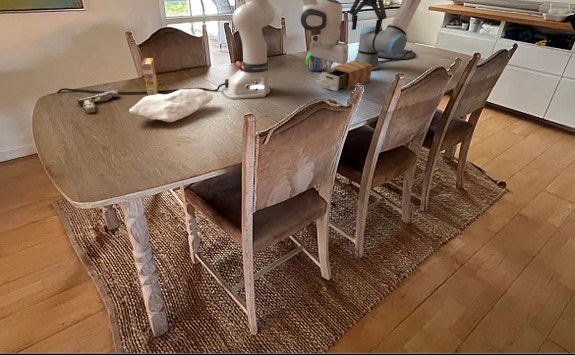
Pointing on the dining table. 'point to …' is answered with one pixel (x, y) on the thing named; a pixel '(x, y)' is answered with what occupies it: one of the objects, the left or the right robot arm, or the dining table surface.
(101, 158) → the dining table surface
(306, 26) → the left robot arm
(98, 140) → the dining table surface
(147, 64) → the candy box
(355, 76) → the cabinet
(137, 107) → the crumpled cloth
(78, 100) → the handgun
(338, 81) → the drawer
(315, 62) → the snack cup
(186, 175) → the dining table surface
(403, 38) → the right robot arm
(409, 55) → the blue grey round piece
